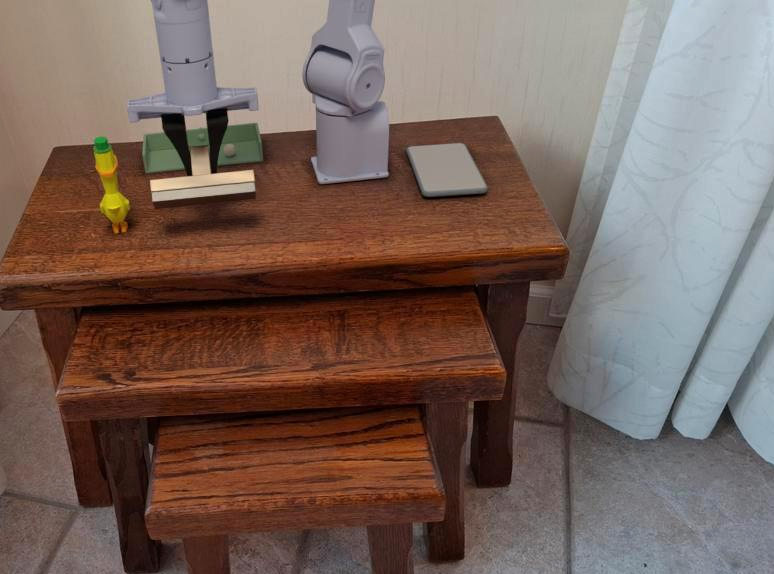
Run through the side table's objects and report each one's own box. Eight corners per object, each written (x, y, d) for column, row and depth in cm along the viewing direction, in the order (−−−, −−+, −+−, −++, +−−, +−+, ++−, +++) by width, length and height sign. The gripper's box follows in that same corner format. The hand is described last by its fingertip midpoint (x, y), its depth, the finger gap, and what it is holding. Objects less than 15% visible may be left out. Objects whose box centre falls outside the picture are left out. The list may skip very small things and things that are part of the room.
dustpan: (263, 161, 109) (261, 142, 107) (145, 173, 108) (142, 154, 107) (257, 135, 116) (256, 116, 114) (147, 146, 116) (144, 128, 114)
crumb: (235, 145, 109) (228, 155, 109) (240, 150, 110) (233, 161, 110) (226, 139, 109) (219, 150, 109) (230, 145, 111) (223, 155, 111)
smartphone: (464, 141, 107) (489, 188, 96) (464, 148, 108) (488, 195, 96) (405, 145, 108) (422, 192, 96) (405, 152, 108) (422, 199, 97)
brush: (255, 199, 91) (250, 148, 91) (256, 191, 88) (250, 139, 88) (155, 209, 91) (149, 158, 91) (151, 202, 88) (146, 149, 88)
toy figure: (106, 217, 99) (86, 126, 91) (134, 214, 99) (116, 123, 91) (106, 243, 94) (84, 149, 86) (135, 239, 94) (116, 145, 86)
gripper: (117, 74, 79) (140, 195, 88) (256, 60, 80) (265, 182, 88) (120, 53, 84) (142, 169, 93) (251, 40, 85) (260, 157, 94)
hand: (202, 173), depth 91 cm, fingers closed on brush, 2 cm apart
